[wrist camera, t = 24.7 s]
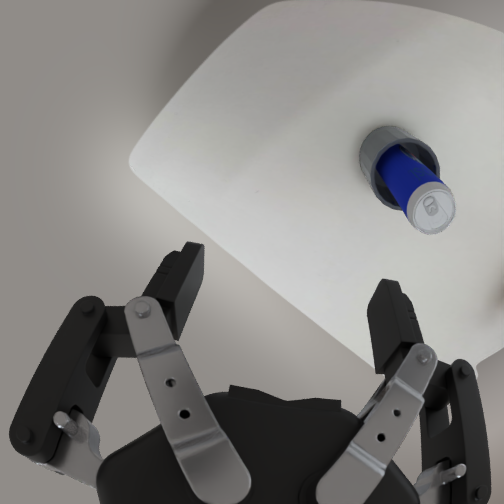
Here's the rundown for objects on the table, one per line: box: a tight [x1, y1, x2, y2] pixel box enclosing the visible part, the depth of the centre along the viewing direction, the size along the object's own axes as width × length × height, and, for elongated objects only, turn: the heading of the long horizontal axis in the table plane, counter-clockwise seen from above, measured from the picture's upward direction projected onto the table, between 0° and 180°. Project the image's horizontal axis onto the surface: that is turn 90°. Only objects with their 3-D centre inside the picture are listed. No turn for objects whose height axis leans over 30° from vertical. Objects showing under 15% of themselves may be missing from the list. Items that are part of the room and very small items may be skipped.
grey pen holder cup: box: [359, 126, 440, 211], centre depth 32 cm, size 9×9×7 cm
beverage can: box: [376, 144, 456, 235], centre depth 28 cm, size 5×5×15 cm
